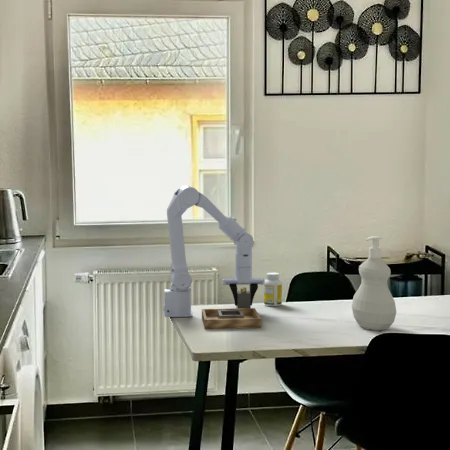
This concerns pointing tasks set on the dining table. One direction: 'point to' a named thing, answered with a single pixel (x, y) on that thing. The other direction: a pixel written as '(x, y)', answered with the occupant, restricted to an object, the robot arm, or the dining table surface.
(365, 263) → the soap bottle
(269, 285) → the pill bottle
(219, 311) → the collar
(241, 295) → the connector plug
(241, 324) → the walled box
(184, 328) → the dining table surface
